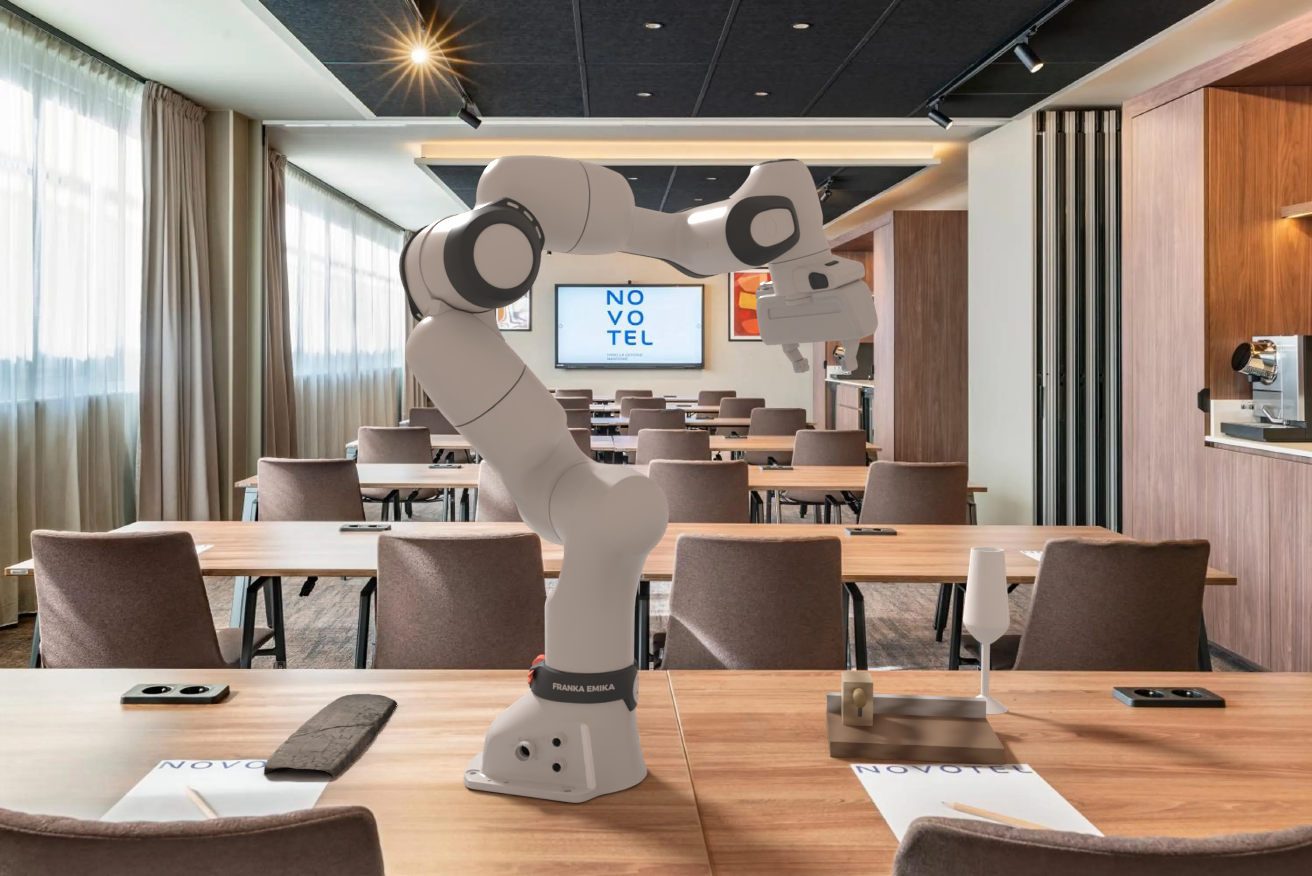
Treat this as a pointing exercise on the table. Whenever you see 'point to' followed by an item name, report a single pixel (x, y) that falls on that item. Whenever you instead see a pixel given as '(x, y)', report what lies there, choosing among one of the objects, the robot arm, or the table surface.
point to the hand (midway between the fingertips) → (825, 371)
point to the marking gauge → (857, 698)
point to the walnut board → (916, 730)
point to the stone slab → (334, 734)
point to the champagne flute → (987, 610)
